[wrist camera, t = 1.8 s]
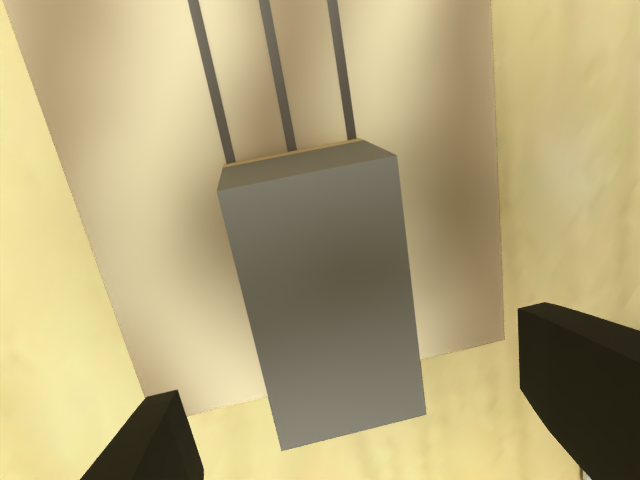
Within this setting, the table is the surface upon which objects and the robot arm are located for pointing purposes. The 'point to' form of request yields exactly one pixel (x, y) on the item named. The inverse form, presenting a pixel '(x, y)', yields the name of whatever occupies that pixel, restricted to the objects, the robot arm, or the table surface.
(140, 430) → the robot arm
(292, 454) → the table surface
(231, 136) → the board
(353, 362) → the block
